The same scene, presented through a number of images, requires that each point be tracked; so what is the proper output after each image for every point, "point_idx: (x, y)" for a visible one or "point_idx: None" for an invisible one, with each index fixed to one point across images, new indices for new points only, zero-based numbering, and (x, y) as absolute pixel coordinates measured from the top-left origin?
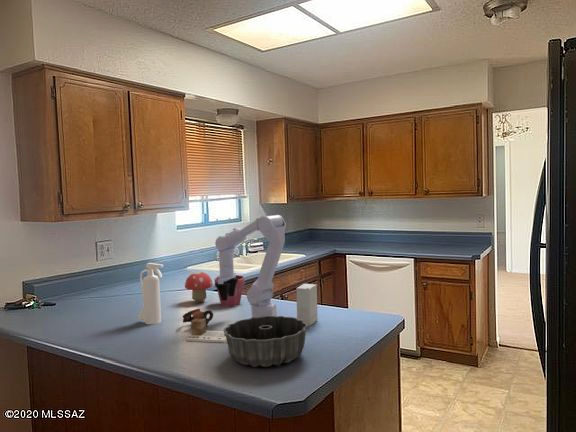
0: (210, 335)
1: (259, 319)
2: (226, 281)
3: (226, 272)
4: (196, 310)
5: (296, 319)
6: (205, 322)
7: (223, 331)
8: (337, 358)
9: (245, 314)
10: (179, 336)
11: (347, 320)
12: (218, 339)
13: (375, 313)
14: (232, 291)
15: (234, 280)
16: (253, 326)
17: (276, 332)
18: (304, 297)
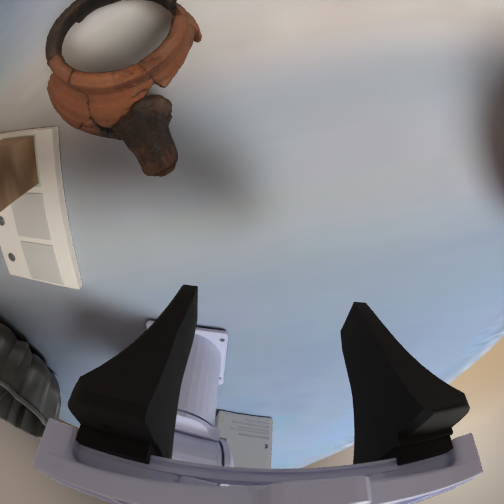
0: (16, 218)
1: (18, 396)
2: (406, 410)
3: None
4: (70, 86)
5: None
6: (10, 202)
7: (66, 250)
8: (63, 415)
9: (380, 271)
10: (10, 78)
11: None
12: (7, 255)
13: (303, 464)
14: (351, 358)
15: (363, 459)
16: (14, 372)
17: (49, 393)
18: None
